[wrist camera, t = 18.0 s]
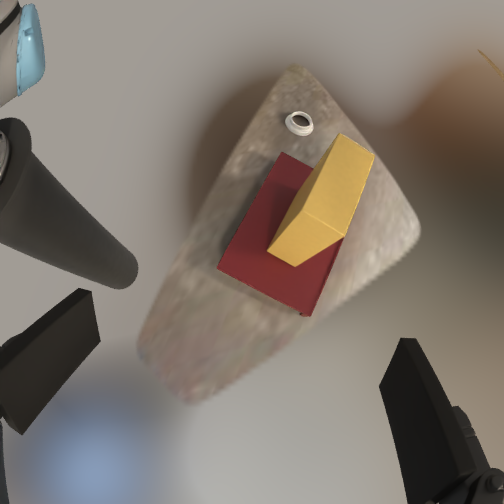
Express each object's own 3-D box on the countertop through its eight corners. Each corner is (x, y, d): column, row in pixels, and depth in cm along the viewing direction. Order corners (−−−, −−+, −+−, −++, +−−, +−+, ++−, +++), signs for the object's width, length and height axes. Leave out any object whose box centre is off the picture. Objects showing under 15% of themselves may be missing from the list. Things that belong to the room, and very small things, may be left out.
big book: (299, 317, 34) (310, 316, 30) (215, 273, 33) (216, 267, 29) (346, 207, 38) (359, 195, 34) (274, 167, 38) (281, 151, 34)
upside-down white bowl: (296, 114, 40) (272, 126, 39) (302, 101, 37) (276, 114, 36) (319, 136, 40) (295, 150, 39) (325, 125, 37) (300, 138, 36)
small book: (266, 251, 31) (301, 210, 19) (298, 190, 33) (340, 130, 21) (295, 267, 31) (345, 236, 19) (324, 205, 33) (376, 153, 21)
